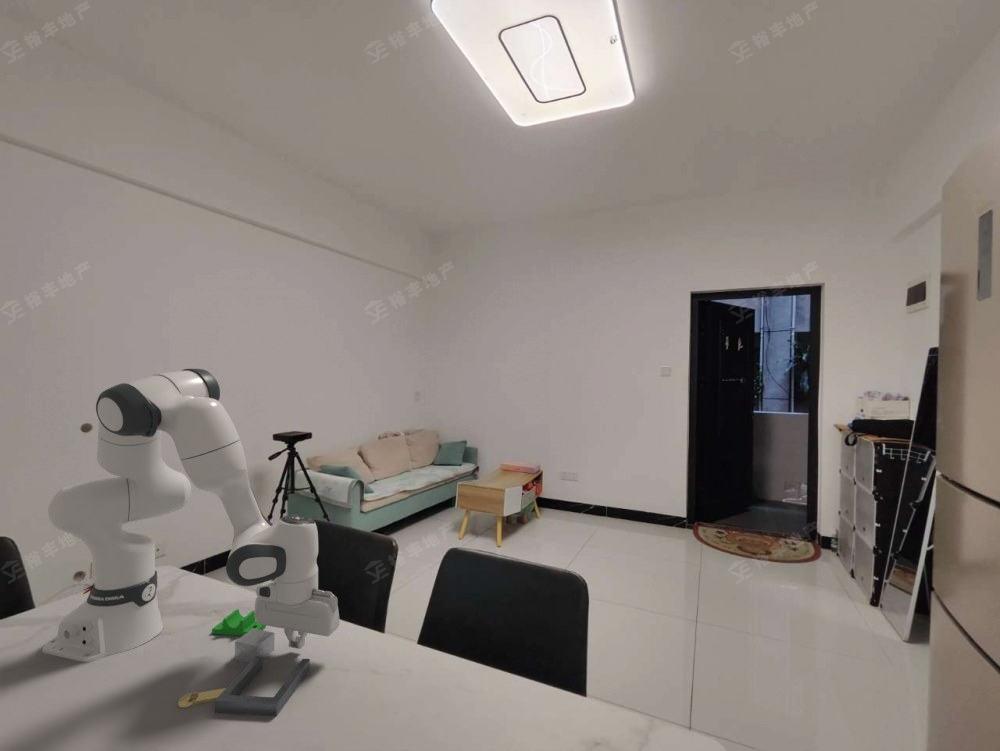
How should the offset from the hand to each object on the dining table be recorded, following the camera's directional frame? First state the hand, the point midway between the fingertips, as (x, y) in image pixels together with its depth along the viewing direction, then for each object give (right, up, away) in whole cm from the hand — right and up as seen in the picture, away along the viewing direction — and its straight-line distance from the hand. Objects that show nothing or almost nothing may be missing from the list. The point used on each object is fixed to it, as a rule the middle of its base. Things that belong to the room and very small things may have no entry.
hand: (296, 646), depth 99 cm
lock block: (-9, -2, -1) cm, 9 cm away
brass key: (-11, -2, -14) cm, 18 cm away
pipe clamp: (-20, +2, +12) cm, 23 cm away
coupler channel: (-1, -2, -12) cm, 12 cm away
